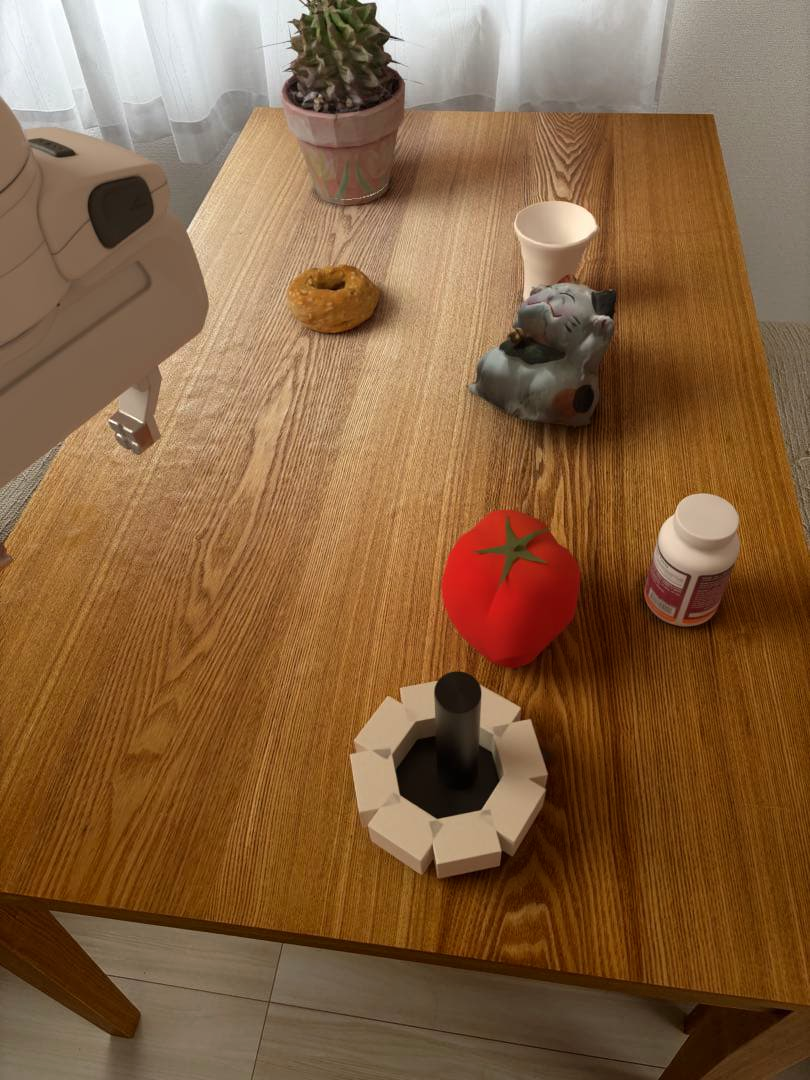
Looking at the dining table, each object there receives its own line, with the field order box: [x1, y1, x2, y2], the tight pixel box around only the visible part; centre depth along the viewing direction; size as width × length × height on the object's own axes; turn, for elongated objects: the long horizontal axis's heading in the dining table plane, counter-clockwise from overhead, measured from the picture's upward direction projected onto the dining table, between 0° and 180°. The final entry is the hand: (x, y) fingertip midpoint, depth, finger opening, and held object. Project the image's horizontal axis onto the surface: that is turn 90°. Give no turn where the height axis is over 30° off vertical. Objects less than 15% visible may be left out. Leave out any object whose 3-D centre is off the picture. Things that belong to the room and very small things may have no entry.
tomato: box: [440, 508, 582, 670], centre depth 69 cm, size 11×13×10 cm
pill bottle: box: [643, 493, 741, 627], centre depth 70 cm, size 6×6×11 cm
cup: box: [513, 200, 601, 302], centre depth 97 cm, size 9×9×10 cm
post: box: [396, 670, 550, 819], centre depth 60 cm, size 10×10×13 cm
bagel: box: [285, 263, 381, 334], centre depth 99 cm, size 10×11×5 cm
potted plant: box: [255, 0, 427, 207], centre depth 108 cm, size 18×20×25 cm
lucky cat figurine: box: [464, 273, 618, 427], centre depth 86 cm, size 15×12×14 cm
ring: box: [349, 680, 549, 879], centre depth 62 cm, size 13×13×3 cm
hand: (70, 501), depth 42 cm, fingers open, 8 cm apart
